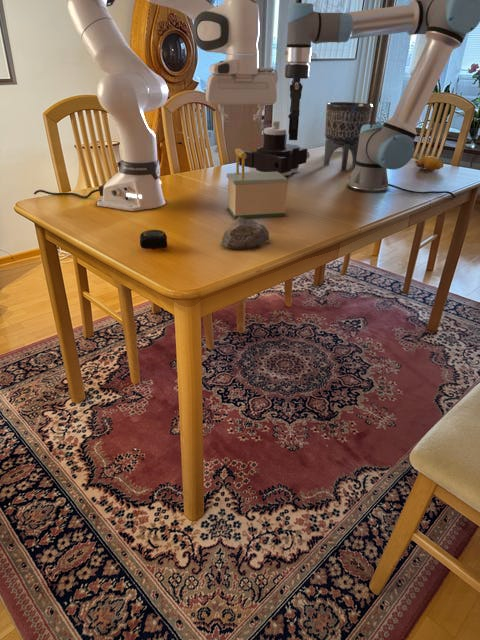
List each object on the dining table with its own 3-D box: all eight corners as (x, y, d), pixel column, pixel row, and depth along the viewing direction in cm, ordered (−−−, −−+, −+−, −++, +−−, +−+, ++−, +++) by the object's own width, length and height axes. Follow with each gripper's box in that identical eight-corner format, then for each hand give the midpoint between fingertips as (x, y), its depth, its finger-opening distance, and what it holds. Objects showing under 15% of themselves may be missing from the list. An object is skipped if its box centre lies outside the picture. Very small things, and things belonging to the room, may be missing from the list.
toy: (417, 163, 202) (411, 156, 215) (419, 177, 205) (413, 169, 218) (444, 155, 199) (436, 148, 211) (446, 170, 202) (438, 162, 214)
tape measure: (140, 252, 115) (139, 238, 113) (141, 242, 120) (140, 229, 119) (167, 251, 116) (166, 237, 114) (167, 241, 121) (166, 228, 120)
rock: (255, 233, 128) (256, 211, 124) (276, 242, 122) (278, 219, 119) (217, 244, 120) (217, 220, 117) (239, 254, 115) (239, 230, 111)
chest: (235, 218, 140) (235, 184, 135) (228, 209, 149) (228, 177, 144) (284, 216, 144) (287, 182, 139) (275, 207, 152) (277, 175, 147)
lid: (233, 184, 135) (234, 153, 131) (226, 176, 144) (226, 147, 139) (287, 182, 139) (289, 152, 134) (277, 175, 147) (278, 146, 143)
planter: (313, 167, 208) (319, 103, 195) (331, 160, 222) (338, 101, 209) (353, 173, 199) (362, 107, 185) (369, 166, 213) (379, 104, 199)
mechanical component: (240, 120, 182) (283, 115, 202) (239, 174, 192) (280, 164, 212) (283, 126, 170) (325, 120, 190) (280, 183, 180) (320, 171, 200)
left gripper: (274, 67, 129) (272, 119, 136) (204, 65, 125) (205, 120, 132) (281, 67, 124) (278, 122, 131) (208, 66, 120) (208, 123, 127)
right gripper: (285, 63, 152) (281, 131, 162) (285, 64, 130) (281, 142, 141) (308, 63, 151) (302, 131, 162) (311, 64, 130) (305, 143, 140)
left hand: (241, 121), depth 132 cm, fingers open, 8 cm apart
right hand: (292, 136), depth 151 cm, fingers open, 13 cm apart
